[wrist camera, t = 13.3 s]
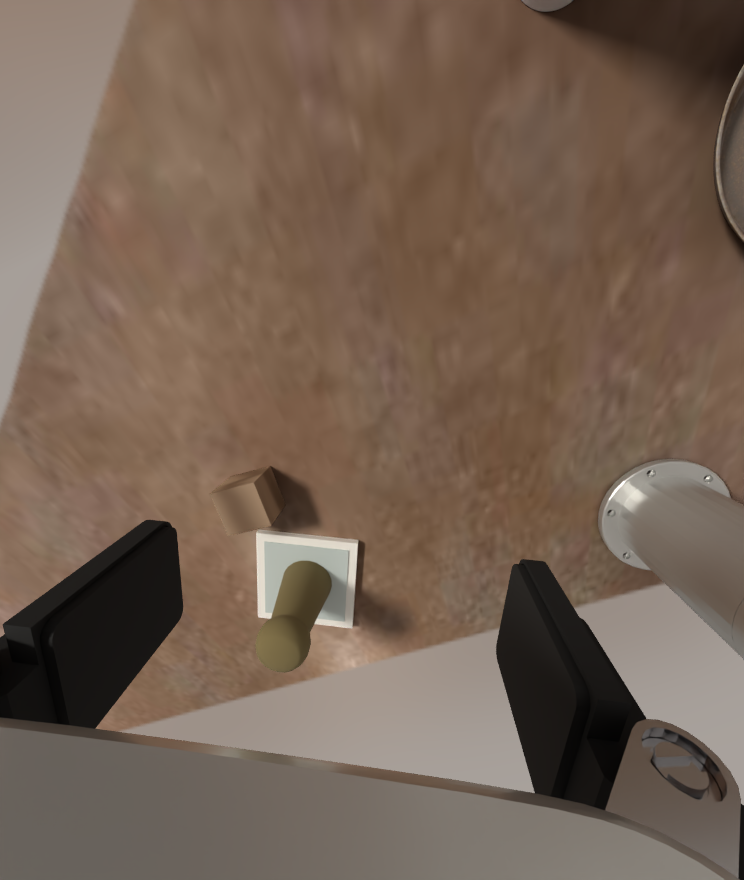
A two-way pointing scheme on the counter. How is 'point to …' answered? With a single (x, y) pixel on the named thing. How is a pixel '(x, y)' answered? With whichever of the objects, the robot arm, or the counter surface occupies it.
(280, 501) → the walnut block
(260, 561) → the plate
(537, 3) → the coffee cup
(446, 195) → the counter surface
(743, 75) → the plant saucer
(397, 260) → the counter surface
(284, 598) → the olive rounded tall piece
